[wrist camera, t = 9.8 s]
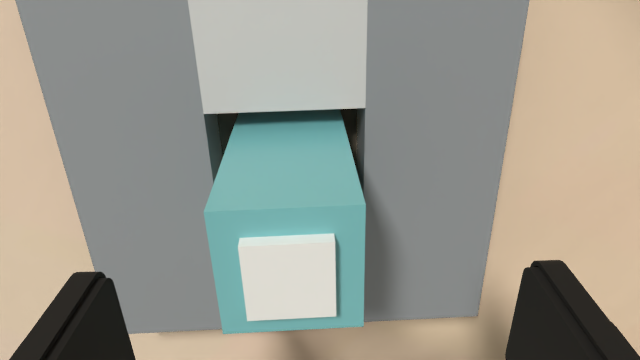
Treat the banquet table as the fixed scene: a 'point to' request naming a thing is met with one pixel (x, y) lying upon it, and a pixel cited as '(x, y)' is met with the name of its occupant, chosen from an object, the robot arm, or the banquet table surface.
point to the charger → (287, 225)
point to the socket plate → (280, 95)
